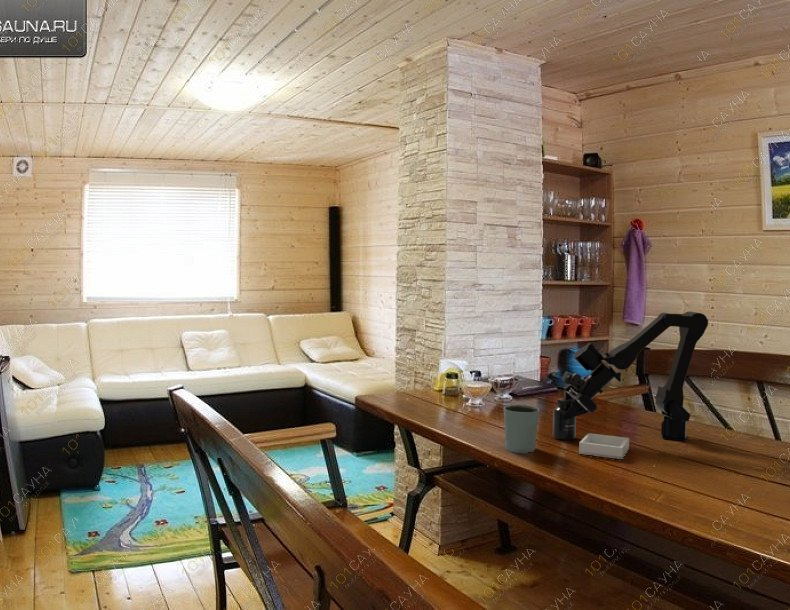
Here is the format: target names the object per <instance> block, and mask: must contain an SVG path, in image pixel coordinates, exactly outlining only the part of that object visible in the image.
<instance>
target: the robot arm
mask: <svg viewBox="0 0 790 610" xmlns="http://www.w3.org/2000/svg"><path fill="white" fill-rule="evenodd" d="M708 326H709V319H708V318H707V316H706V315H705V314H704V313H701V312H697V311H690V310H689V311H686V312H685V313H669V312H661V313H659V314H658V316H657V317H655V319H654V320H653V321H651V322H650V323H649V324H647V325H646V326H645V327H644V328H643V329H641V331H640V332H638V333H637V334H635V336H633V337H632V338H631V339H630V340H628V341H626V342H623V343H622V344H619V345H617V346H616V347H614V348H613V349H611V350H610V351H609V352H604V353H603V352H602V353H600V352H599V351H598V350H597V349H596V348H595V346H594V345H593V344H592V343H591V342H588V343H587V344H585V345H583V346H582V347H580V348H579V349H577V350H576V351H575V352H574V354H573V357H572V358H573V360H575V361H576V362H577V363H578V364H579V365H580V366H581V367H582V368H583V369H584V370H585V371H586V372H587V371H591V372H590V374H588V375H583V376H582V375H580V374H578V373H577V372H575V373H571V372H569V371H566V370H565V372H564V373H563V375H562V377H561V379H560V380H561V381H562V382H563V383H564V384H565V385H564V386H563V387H562V388H563V389H564V390H563V392H564V394H563V395H564V397H563V398H569V399H572V405H571V406H570V407H569V409H568V410H567V411H566V412H565V414H564V415H563V416H562V419H563V420H567V419H570V418H573V417H576V418H577V417H579V416H582V415H585V414H589V413H590V414H594V412H595V411H597V409H598V405H597V404H596V402H594V400H593V399H594V398H595V397H596V396H597V395H599V394H602V393H603V392H604V391H603V389H604V388H606V386H607V385H608V384H609V383H610V382H611V381H612V380H616V381H617V382H619V383H620V382H622V378H621V377H622V373H621V372H620V371H616V370H615V369H618V370H621V371H622V370H623V371H624V370H627V369H629V368H630V367H631V366H632V364H634V362H635V361H636V359H637V357H638V356H639V354H640V353H641V352H642V350H644V349H645V348H647V346H649V345H650V344H651V343H652V342H653V341H654V340H655V339H657V338H658V337H659V336H660V335H661V334H663V333H664V332H665V331H666V330H667V329H669V328H670V327H678V328H679V329H678V331H679V341H678V345H677V348H676V352H675V354H674V359H673V361H672V365H671V369H670V371H669V374H668V377H667V381H666V383H665V384H664V386H663V387H662V386H659V385H658V387H657V391H656V394H655V396H654V398H653V399H655V405H656V407H657V408H658V409H659V410H660V412H661V415H662V416H664V417H663V420H662V421H661V432H660V433H661V437H662V438H661V439H663V438H668V439H667V440H671V439H672V440H673V439H674V441H679V440H682V441H681V442H686V440H685V439H687V437H688V435H687V422H689V421H690V418H691V413H690V412H689V411H688V410H687V409H686V408H685V407H684V400H685V397H684V395H685V394H684V385H685V380H686V378H687V374H688V371H689V368H690V365H691V361H692V358H693V355H694V353H695V348H696V345H697V343H698V342H699V340H700V339H701V338H702V337H703V335H704V334H705V332H706V330H707V328H708ZM603 362H604V363H606V364H608V365H605V364H604V363H603ZM613 367H614V368H615V369H614V368H613Z"/></svg>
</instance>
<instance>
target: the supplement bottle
mask: <svg viewBox="0 0 790 610" xmlns="http://www.w3.org/2000/svg"><path fill="white" fill-rule="evenodd" d="M571 405H572V399H569V398H564V397H559V398H557V399H556V407H555V408H553V413H552V414H553V415H552V437H553V438H554V439H556V438H557V439H556V440H559V439H562V440H561V441H573V440H574V439H576V430H577V429H576V427H577V426H576V424H577V416H576V417H573V418H570V419H567V420H563V419H562V416H563V415H564V414H565V412H566V411H567V410H568V409H569V407H570V406H571ZM572 439H573V440H572Z"/></svg>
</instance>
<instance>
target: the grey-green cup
mask: <svg viewBox="0 0 790 610" xmlns="http://www.w3.org/2000/svg"><path fill="white" fill-rule="evenodd" d="M539 417H540V408H538V407H536V406H533V405H525V404H509V405H505V406H504V407H503V419H504V420H503V421H504V447H505V450H506V451H507V450H508V452H510V453H514V452H515V453H514V454H529V453H528V452H531V453H533V452H535V451H536V443H537V440H536V439H537V433H538V424H539ZM534 450H535V451H534ZM532 451H533V452H532Z"/></svg>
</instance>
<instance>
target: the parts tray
mask: <svg viewBox="0 0 790 610" xmlns="http://www.w3.org/2000/svg"><path fill="white" fill-rule="evenodd" d="M578 444H579V445H578V455H579V454H585V455H594V456H602V457H609V458H617V459H623V460H624V458H625V457H624V456H626V455H627V454H626V453H628V452H629V451H628V450H630V438H629V437H624V436H623V437H622V436H616V435H607V434H598V433H592V432H588V433H587V434H586V435H585V436H584V437H583V438H582V439H581V440H580V441H579V443H578ZM627 451H628V452H627ZM625 454H626V455H625ZM585 455H584V456H585ZM623 457H624V458H623Z"/></svg>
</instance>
